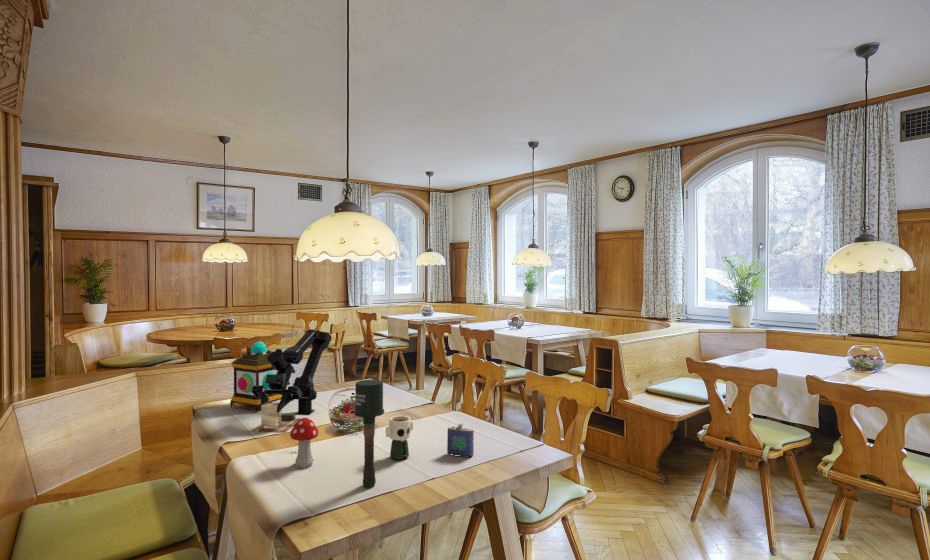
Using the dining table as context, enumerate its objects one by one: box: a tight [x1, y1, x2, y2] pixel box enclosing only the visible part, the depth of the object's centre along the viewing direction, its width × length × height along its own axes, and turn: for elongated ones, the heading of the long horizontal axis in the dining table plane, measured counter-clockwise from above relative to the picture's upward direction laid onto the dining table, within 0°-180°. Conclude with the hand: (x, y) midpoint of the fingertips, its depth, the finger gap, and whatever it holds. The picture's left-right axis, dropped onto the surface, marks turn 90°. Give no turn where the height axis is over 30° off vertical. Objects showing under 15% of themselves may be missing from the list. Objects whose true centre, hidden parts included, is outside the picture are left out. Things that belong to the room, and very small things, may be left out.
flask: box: [446, 423, 475, 457], centre depth 162 cm, size 9×3×11 cm, turn 74°
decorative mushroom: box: [289, 417, 319, 469], centre depth 153 cm, size 10×9×15 cm
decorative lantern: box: [230, 341, 282, 413], centre depth 222 cm, size 20×20×30 cm
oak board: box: [248, 413, 302, 434], centre depth 191 cm, size 18×14×3 cm
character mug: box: [385, 415, 414, 460], centre depth 160 cm, size 11×7×13 cm, turn 133°
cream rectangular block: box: [260, 402, 282, 426], centre depth 185 cm, size 4×7×8 cm, turn 85°
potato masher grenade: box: [353, 379, 385, 489], centre depth 138 cm, size 8×9×30 cm
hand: (269, 411), depth 184 cm, fingers closed on cream rectangular block, 6 cm apart
